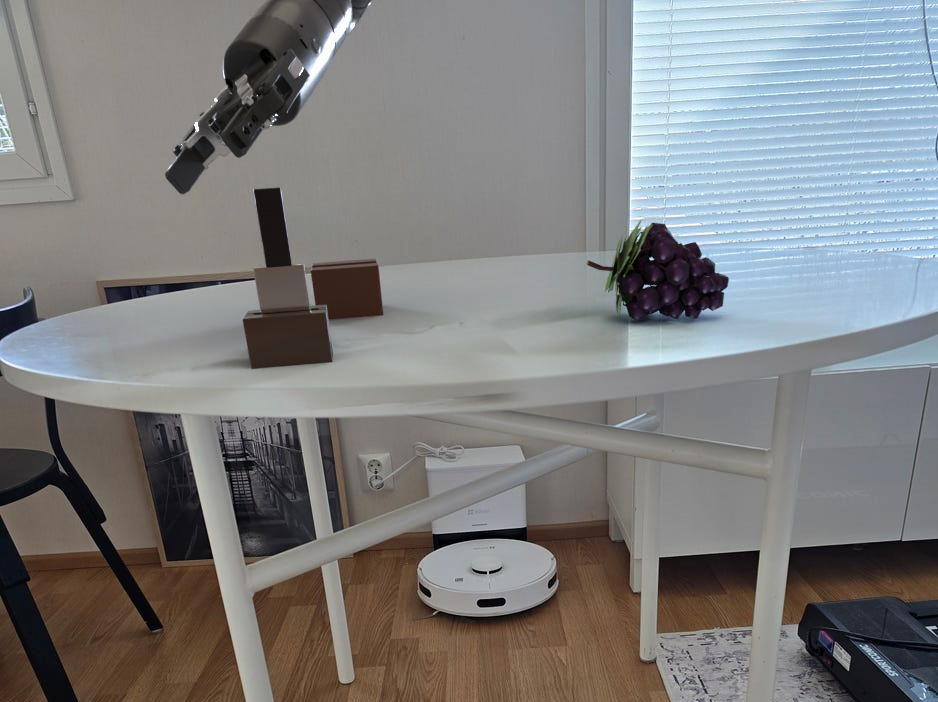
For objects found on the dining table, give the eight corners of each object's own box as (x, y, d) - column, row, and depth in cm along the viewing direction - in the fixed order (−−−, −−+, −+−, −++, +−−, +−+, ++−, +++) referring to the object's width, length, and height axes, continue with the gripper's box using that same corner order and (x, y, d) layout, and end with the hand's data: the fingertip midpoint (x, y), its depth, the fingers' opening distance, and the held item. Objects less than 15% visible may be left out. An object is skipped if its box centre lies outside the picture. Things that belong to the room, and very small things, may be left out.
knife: (316, 360, 77) (291, 186, 71) (267, 365, 77) (238, 190, 70) (317, 354, 80) (293, 186, 73) (270, 358, 80) (241, 189, 73)
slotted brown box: (389, 331, 94) (382, 265, 91) (316, 337, 93) (306, 270, 90) (385, 320, 101) (379, 258, 98) (318, 326, 101) (309, 263, 97)
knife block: (333, 370, 77) (325, 312, 75) (252, 377, 76) (242, 318, 74) (333, 359, 82) (326, 304, 79) (257, 366, 81) (247, 310, 78)
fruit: (711, 353, 89) (572, 320, 90) (707, 319, 97) (580, 289, 98) (747, 252, 83) (597, 217, 83) (740, 224, 91) (603, 192, 91)
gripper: (206, 54, 81) (123, 159, 74) (301, -24, 72) (216, 88, 65) (263, 126, 86) (190, 231, 79) (359, 61, 77) (285, 174, 70)
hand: (202, 166), depth 72 cm, fingers open, 8 cm apart
